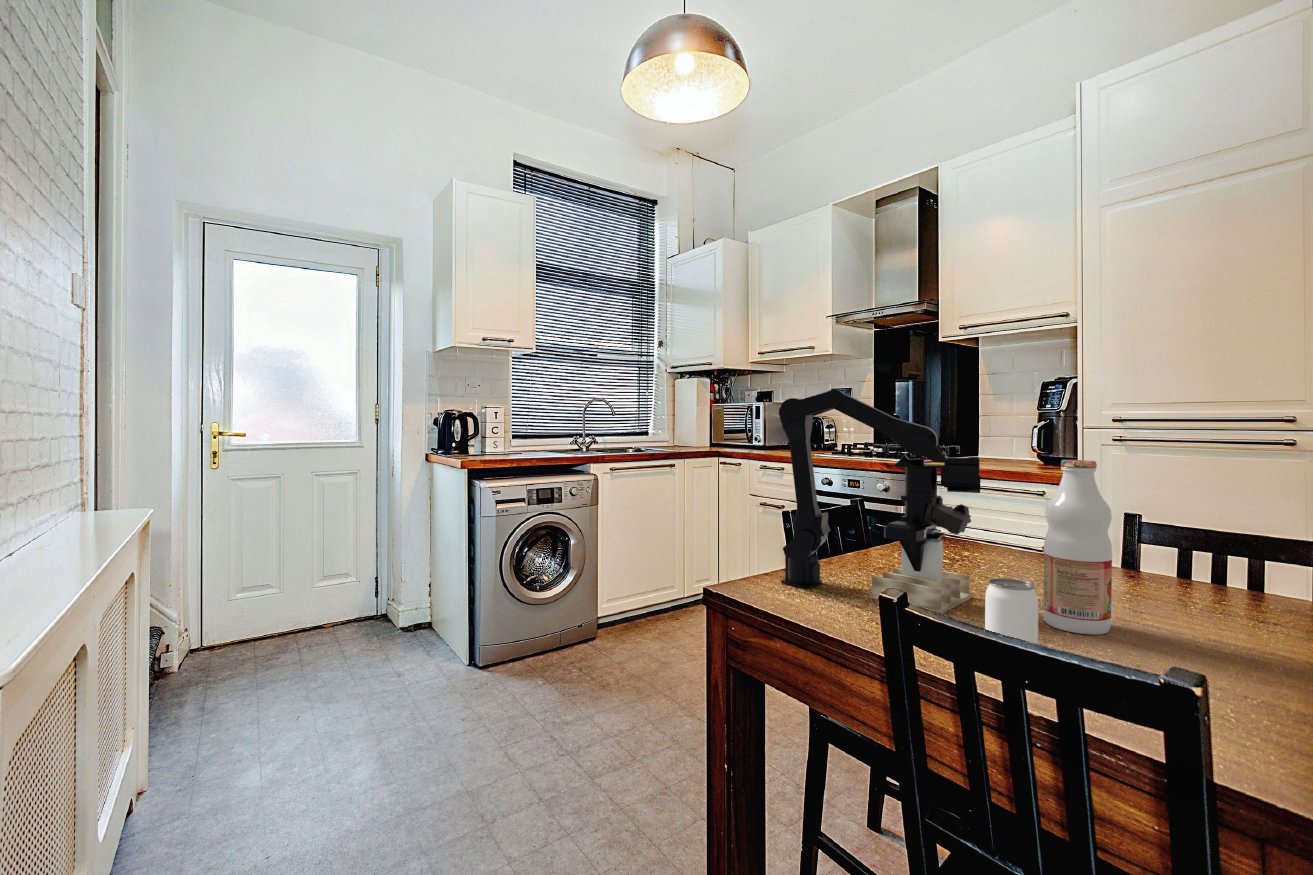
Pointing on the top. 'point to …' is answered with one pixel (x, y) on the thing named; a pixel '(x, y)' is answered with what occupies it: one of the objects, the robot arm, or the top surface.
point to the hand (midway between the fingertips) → (920, 569)
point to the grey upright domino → (926, 562)
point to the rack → (926, 589)
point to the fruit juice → (1078, 554)
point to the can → (1012, 609)
